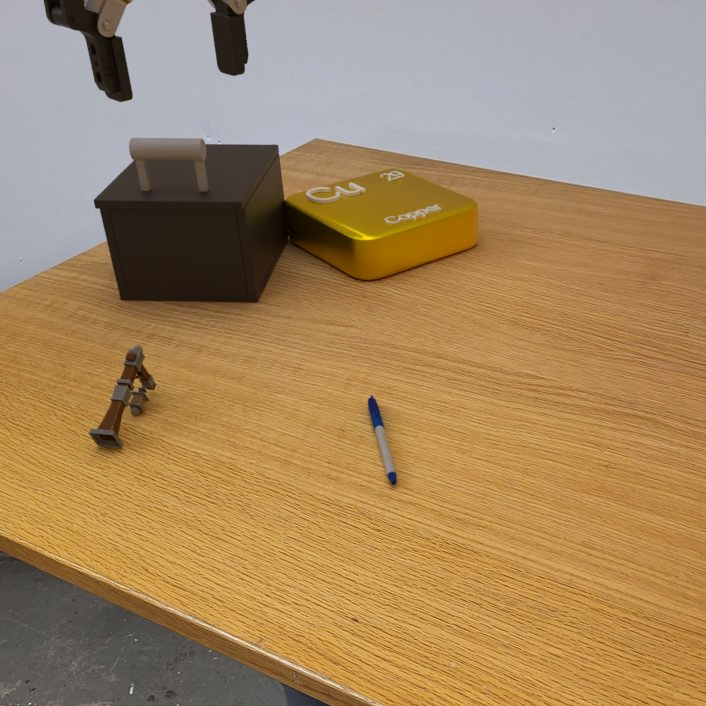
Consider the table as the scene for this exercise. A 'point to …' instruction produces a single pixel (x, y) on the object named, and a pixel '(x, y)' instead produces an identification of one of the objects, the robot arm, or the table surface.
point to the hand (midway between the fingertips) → (177, 85)
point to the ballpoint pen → (382, 440)
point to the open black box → (199, 248)
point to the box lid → (187, 175)
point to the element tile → (381, 223)
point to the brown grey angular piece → (124, 399)
